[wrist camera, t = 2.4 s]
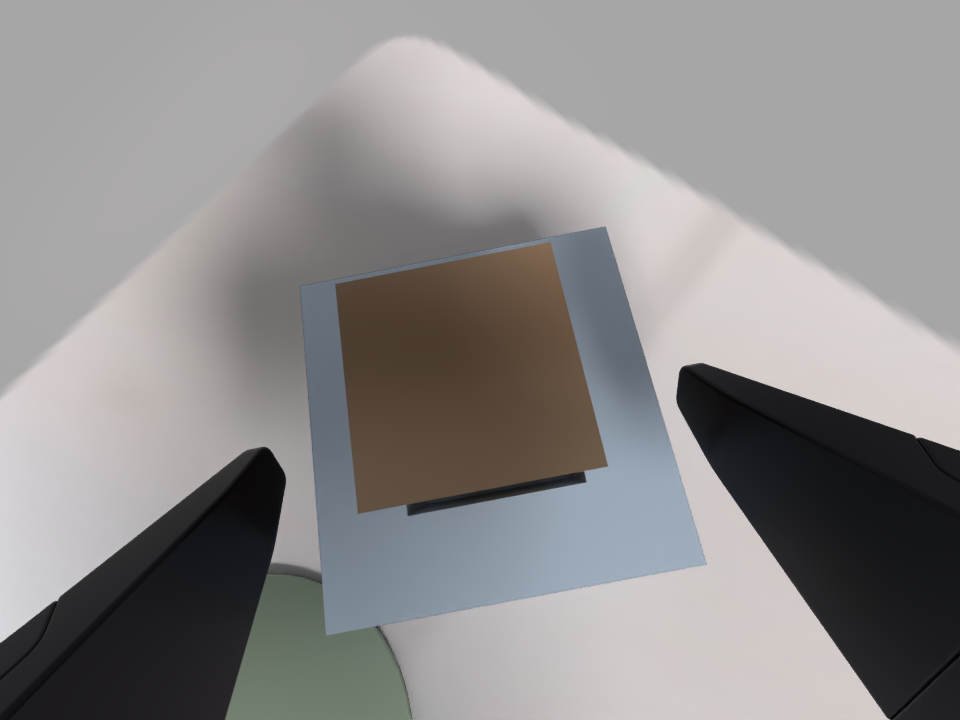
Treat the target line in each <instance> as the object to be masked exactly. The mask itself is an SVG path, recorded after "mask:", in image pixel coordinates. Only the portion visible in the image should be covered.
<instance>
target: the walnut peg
mask: <svg viewBox="0 0 960 720" xmlns="http://www.w3.org/2000/svg"><path fill="white" fill-rule="evenodd" d="M335 288H336V298H337V308H338V318H339V329H340V339H341V349H342V359H343V369H344V379H345V389H346V399H347V409H348V419H349V430H350V440H351V450H352V460H353V470H354V480H355V490H356V500H357V510H358V514H360V513H365V512H371V511H376V510H381V509H387V508H392V507H397V506H402V505H408V504H413V503H418V502H424V501H429V500H434V499H439V498H445V497H450V496H455V495H461V494H466V493H471V492H476V491H482V490H487V489H492V488H498V487H503V486H508V485H513V484H519V483H524V482H529V481H534V480H540V479H545V478H550V477H556V476H561V475H566V474H571V473H577V472H582V471H587V470H593V469H598V468H603V467H608V463H607V460H606V456H605V452H604V448H603V444H602V440H601V436H600V432H599V428H598V425H597V421H596V417H595V413H594V409H593V405H592V401H591V397H590V393H589V390H588V386H587V382H586V378H585V374H584V370H583V366H582V362H581V358H580V355H579V351H578V347H577V343H576V339H575V335H574V331H573V327H572V323H571V320H570V316H569V312H568V308H567V304H566V300H565V296H564V292H563V288H562V285H561V281H560V277H559V273H558V269H557V265H556V261H555V257H554V253H553V250H552V246H551V242H548V243H543V244H538V245H533V246H527V247H522V248H517V249H512V250H507V251H502V252H497V253H492V254H487V255H481V256H476V257H471V258H466V259H461V260H456V261H451V262H446V263H440V264H435V265H430V266H425V267H420V268H415V269H410V270H405V271H400V272H394V273H389V274H384V275H379V276H374V277H369V278H364V279H359V280H353V281H348V282H343V283H338V284H335Z"/></svg>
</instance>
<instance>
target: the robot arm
mask: <svg viewBox="0 0 960 720" xmlns="http://www.w3.org/2000/svg"><path fill="white" fill-rule="evenodd" d="M676 399H677V404H678V407H679V409H680V411H681V413H682V415H683V417H684V418H685V420H686V422H687V424H688V426H689V427H690V429H691V431H692V433H693V435H694V437H695V438H696V440H697V442H698V444H699V446H700V448H701V449H702V451H703V453H704V455H705V457H706V458H707V460H708V462H709V464H710V465H711V467H712V468H713V470H714V471H715V473H716V474H717V476H718V477H719V479H720V480H721V482H722V483H723V485H724V486H725V487H726V489H727V490H728V492H729V493H730V495H731V496H732V497H733V499H734V500H735V502H736V503H737V505H738V506H739V507H740V509H741V510H742V512H743V513H744V515H745V516H746V517H747V519H748V520H749V522H750V523H751V525H752V526H753V527H754V529H755V530H756V532H757V533H758V535H759V536H760V537H761V539H762V540H763V542H764V543H765V544H766V546H767V547H768V549H769V550H770V552H771V553H772V554H773V556H774V557H775V559H776V560H777V562H778V563H779V564H780V566H781V567H782V569H783V570H784V572H785V573H786V574H787V576H788V577H789V579H790V580H791V582H792V583H793V584H794V586H795V587H796V589H797V590H798V592H799V593H800V594H801V596H802V597H803V599H804V600H805V602H806V603H807V604H808V606H809V607H810V609H811V610H812V612H813V613H814V614H815V616H816V617H817V619H818V620H819V621H820V623H821V624H822V626H823V627H824V629H825V630H826V631H827V633H828V634H829V636H830V637H831V639H832V640H833V641H834V643H835V644H836V646H837V647H838V649H839V650H840V651H841V653H842V654H843V656H844V657H845V659H846V660H847V661H848V663H849V664H850V666H851V667H852V669H853V670H854V671H855V673H856V674H857V676H858V677H859V679H860V680H861V681H862V683H863V684H864V686H865V687H866V689H867V690H868V691H869V693H870V694H871V696H872V697H873V699H874V700H875V701H876V703H877V704H878V706H879V707H880V708H881V710H882V711H883V713H884V714H885V716H886V717H887V718H888V719H890V720H960V451H959V450H956V449H953V448H950V447H947V446H944V445H941V444H938V443H936V442H933V441H930V440H927V439H924V438H917V439H916V437H915V436H914V435H912V434H909V433H906V432H903V431H900V430H897V429H894V428H891V427H888V426H886V425H883V424H880V423H877V422H874V421H871V420H868V419H865V418H862V417H859V416H856V415H853V414H850V413H847V412H844V411H842V410H839V409H836V408H833V407H830V406H827V405H824V404H821V403H818V402H815V401H812V400H809V399H806V398H803V397H801V396H798V395H795V394H792V393H789V392H786V391H783V390H780V389H777V388H774V387H771V386H768V385H765V384H762V383H760V382H757V381H754V380H751V379H748V378H745V377H742V376H739V375H736V374H733V373H730V372H727V371H724V370H721V369H719V368H716V367H713V366H710V365H707V364H704V363H697V364H692V365H687V366H683V367H682V368H681V369H680V372H679V379H678V387H677V396H676ZM285 485H286V477H285V473H284V471H283V469H282V468H281V466H280V465H279V463H278V461H277V460H276V458H275V457H274V455H273V453H272V452H271V450H270V449H268V448H267V447H260V448H255V449H250V450H247V451H245V452H243V453H242V454H241V455H239V456H238V457H237V458H236V459H234V460H233V461H232V462H230V463H229V464H228V465H227V466H225V467H224V468H223V469H222V470H220V471H219V472H218V473H217V474H215V475H214V476H213V477H211V478H210V479H209V480H208V481H206V482H205V483H204V484H203V485H201V486H200V487H199V488H197V489H196V490H195V491H194V492H192V493H191V494H190V495H189V496H187V497H186V498H185V499H183V500H182V501H181V502H180V503H178V504H177V505H176V506H175V507H173V508H172V509H171V510H170V511H168V512H167V513H166V514H164V515H163V516H162V517H161V518H159V519H158V520H157V521H156V522H154V523H153V524H152V525H150V526H149V527H148V528H147V529H145V530H144V531H143V532H142V533H140V534H139V535H138V536H137V537H135V538H134V539H133V540H131V541H130V542H129V543H128V544H126V545H125V546H124V547H123V548H121V549H120V550H119V551H117V552H116V553H115V554H114V555H112V556H111V557H110V558H109V559H107V560H106V561H105V562H103V563H102V564H101V565H100V566H98V567H97V568H96V569H95V570H93V571H92V572H91V573H90V574H88V575H87V576H86V577H84V578H83V579H82V580H81V581H79V582H78V583H77V584H76V585H74V586H73V587H72V588H70V589H69V590H68V591H67V592H65V593H64V594H63V595H62V596H60V598H59V599H58V601H54V602H53V603H51V604H50V605H49V606H47V607H46V608H45V609H44V610H42V611H41V612H40V613H39V614H37V615H36V616H35V617H34V618H32V619H31V620H30V621H28V622H27V623H26V624H25V625H23V626H22V627H21V628H19V629H18V630H17V631H16V632H14V633H13V634H12V635H10V636H9V637H8V638H6V639H5V640H4V641H3V642H1V643H0V720H225V719H226V715H227V712H228V708H229V705H230V701H231V698H232V694H233V691H234V687H235V684H236V680H237V677H238V674H239V670H240V667H241V663H242V660H243V656H244V653H245V649H246V646H247V642H248V639H249V635H250V632H251V628H252V625H253V621H254V618H255V614H256V611H257V607H258V604H259V600H260V597H261V594H262V590H263V587H264V583H265V580H266V576H267V573H268V569H269V566H270V562H271V558H272V554H273V551H274V546H275V541H276V536H277V530H278V525H279V519H280V513H281V508H282V502H283V496H284V491H285Z"/></svg>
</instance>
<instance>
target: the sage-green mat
mask: <svg viewBox="0 0 960 720" xmlns="http://www.w3.org/2000/svg"><path fill="white" fill-rule="evenodd" d="M225 720H412V715H411V710H410V704H409V699H408V694H407V690H406V687H405V684H404V680H403V677H402V674H401V671H400V668H399V666H398V664H397V662H396V659H395V657H394V655H393V652H392V650H391V649H390V647H389V645H388V644H387V642H386V640H385V639H384V637H383V635H382V634H381V632H380V631H379V630H378V628H377V627H376V626H374V627H369V628H363V629H358V630H353V631H347V632H342V633H337V634H331V635H326V627H325V614H324V600H323V587H322V583H320V582H317V581H314V580H311V579H308V578H305V577H300V576H294V575H289V574H267V576H266V580H265V583H264V587H263V590H262V594H261V597H260V600H259V604H258V607H257V611H256V614H255V618H254V621H253V625H252V628H251V632H250V635H249V639H248V642H247V646H246V649H245V653H244V656H243V660H242V663H241V667H240V670H239V674H238V677H237V680H236V684H235V687H234V691H233V694H232V698H231V701H230V705H229V708H228V712H227V715H226V719H225Z"/></svg>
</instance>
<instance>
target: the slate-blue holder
mask: <svg viewBox="0 0 960 720" xmlns="http://www.w3.org/2000/svg"><path fill="white" fill-rule="evenodd" d="M548 242H551V246H552V250H553V253H554V257H555V261H556V265H557V269H558V273H559V277H560V281H561V285H562V288H563V292H564V296H565V300H566V304H567V308H568V312H569V316H570V320H571V323H572V327H573V331H574V335H575V339H576V343H577V347H578V351H579V355H580V358H581V362H582V366H583V370H584V374H585V378H586V382H587V386H588V390H589V393H590V397H591V401H592V405H593V409H594V413H595V417H596V421H597V425H598V428H599V432H600V436H601V440H602V444H603V448H604V452H605V456H606V460H607V463H608V467H603V468H598V469H593V470H587V471H582V472H577V473H571V474H566V475H561V476H556V477H550V478H545V479H540V480H534V481H529V482H524V483H519V484H513V485H508V486H503V487H498V488H492V489H487V490H482V491H476V492H471V493H466V494H461V495H455V496H450V497H445V498H439V499H434V500H429V501H424V502H418V503H413V504H408V505H402V506H397V507H392V508H387V509H381V510H376V511H371V512H365V513H360V514H358V510H357V500H356V490H355V480H354V470H353V460H352V450H351V440H350V430H349V419H348V409H347V399H346V389H345V379H344V369H343V359H342V349H341V339H340V329H339V318H338V308H337V298H336V288H335V284H338V283H343V282H348V281H353V280H359V279H364V278H369V277H374V276H379V275H384V274H389V273H394V272H400V271H405V270H410V269H415V268H420V267H425V266H430V265H435V264H440V263H446V262H451V261H456V260H461V259H466V258H471V257H476V256H481V255H487V254H492V253H497V252H502V251H507V250H512V249H517V248H522V247H527V246H533V245H538V244H543V243H548ZM300 292H301V305H302V318H303V332H304V345H305V359H306V372H307V386H308V399H309V412H310V426H311V439H312V453H313V466H314V480H315V493H316V506H317V520H318V533H319V547H320V560H321V574H322V587H323V600H324V614H325V627H326V635H331V634H337V633H342V632H347V631H353V630H358V629H363V628H369V627H374V626H380V625H385V624H390V623H396V622H401V621H406V620H412V619H417V618H422V617H428V616H433V615H439V614H444V613H449V612H455V611H460V610H465V609H471V608H476V607H482V606H487V605H492V604H498V603H503V602H508V601H514V600H519V599H524V598H530V597H535V596H541V595H546V594H551V593H557V592H562V591H567V590H573V589H578V588H583V587H589V586H594V585H600V584H605V583H610V582H616V581H621V580H626V579H632V578H637V577H642V576H648V575H653V574H659V573H664V572H669V571H675V570H680V569H685V568H691V567H696V566H701V565H707V563H706V560H705V556H704V553H703V550H702V546H701V543H700V540H699V536H698V533H697V530H696V526H695V523H694V520H693V516H692V513H691V510H690V506H689V503H688V500H687V496H686V493H685V490H684V486H683V483H682V480H681V476H680V473H679V470H678V466H677V463H676V460H675V456H674V453H673V450H672V446H671V443H670V440H669V436H668V433H667V430H666V426H665V423H664V420H663V416H662V413H661V410H660V406H659V403H658V400H657V396H656V393H655V390H654V386H653V383H652V380H651V376H650V373H649V370H648V366H647V363H646V360H645V356H644V353H643V350H642V346H641V343H640V340H639V336H638V333H637V330H636V326H635V323H634V320H633V316H632V313H631V309H630V306H629V303H628V299H627V296H626V293H625V289H624V286H623V283H622V279H621V276H620V273H619V269H618V266H617V263H616V259H615V256H614V253H613V249H612V246H611V243H610V239H609V236H608V233H607V229H606V227H600V228H595V229H590V230H585V231H580V232H575V233H570V234H565V235H560V236H554V237H549V238H544V239H539V240H534V241H529V242H524V243H519V244H514V245H508V246H503V247H498V248H493V249H488V250H483V251H478V252H473V253H467V254H462V255H457V256H452V257H447V258H442V259H437V260H432V261H427V262H421V263H416V264H411V265H406V266H401V267H396V268H391V269H386V270H381V271H375V272H370V273H365V274H360V275H355V276H350V277H345V278H340V279H334V280H329V281H324V282H319V283H314V284H309V285H304V286H300Z"/></svg>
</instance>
